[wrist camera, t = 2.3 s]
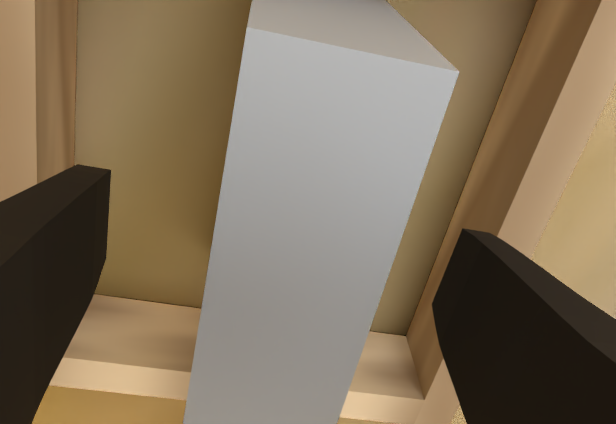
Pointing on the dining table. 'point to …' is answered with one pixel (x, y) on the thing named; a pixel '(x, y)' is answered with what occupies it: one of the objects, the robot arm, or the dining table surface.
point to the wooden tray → (469, 215)
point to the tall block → (311, 205)
